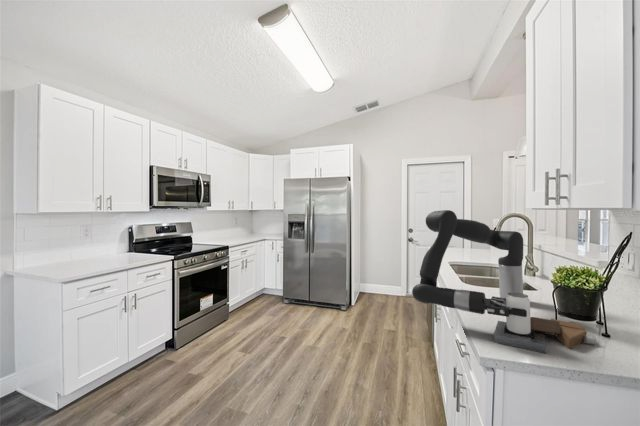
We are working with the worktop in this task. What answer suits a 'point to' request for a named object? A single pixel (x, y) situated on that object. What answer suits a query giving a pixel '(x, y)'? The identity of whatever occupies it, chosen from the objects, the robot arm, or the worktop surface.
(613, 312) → the worktop surface
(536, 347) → the gray square frame plate
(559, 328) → the wooden blocks
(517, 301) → the can
